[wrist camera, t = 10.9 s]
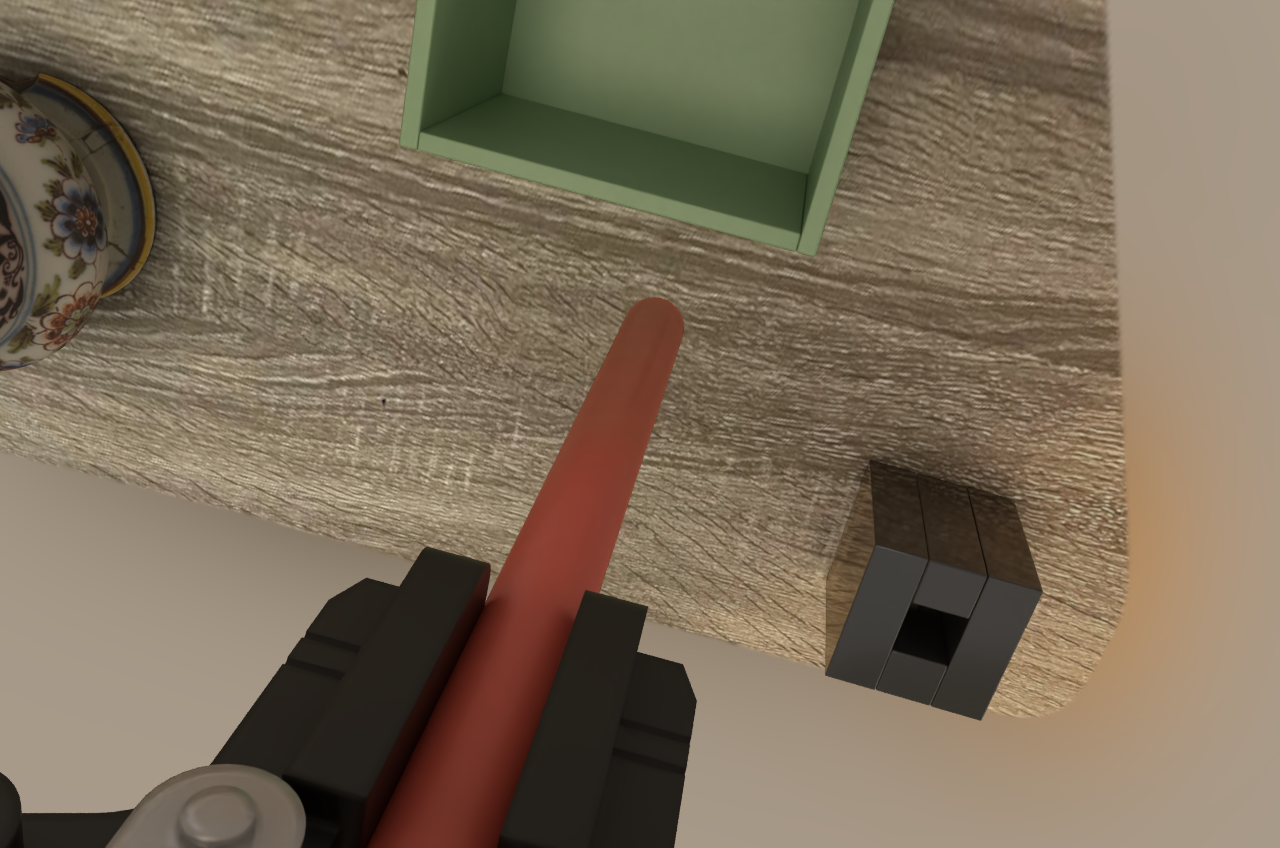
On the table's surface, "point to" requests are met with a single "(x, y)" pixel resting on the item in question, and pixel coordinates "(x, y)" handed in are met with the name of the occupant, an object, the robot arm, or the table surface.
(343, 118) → the table surface
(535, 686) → the red rod
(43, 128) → the apothecary jar
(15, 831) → the robot arm
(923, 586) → the holder
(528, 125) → the bin
